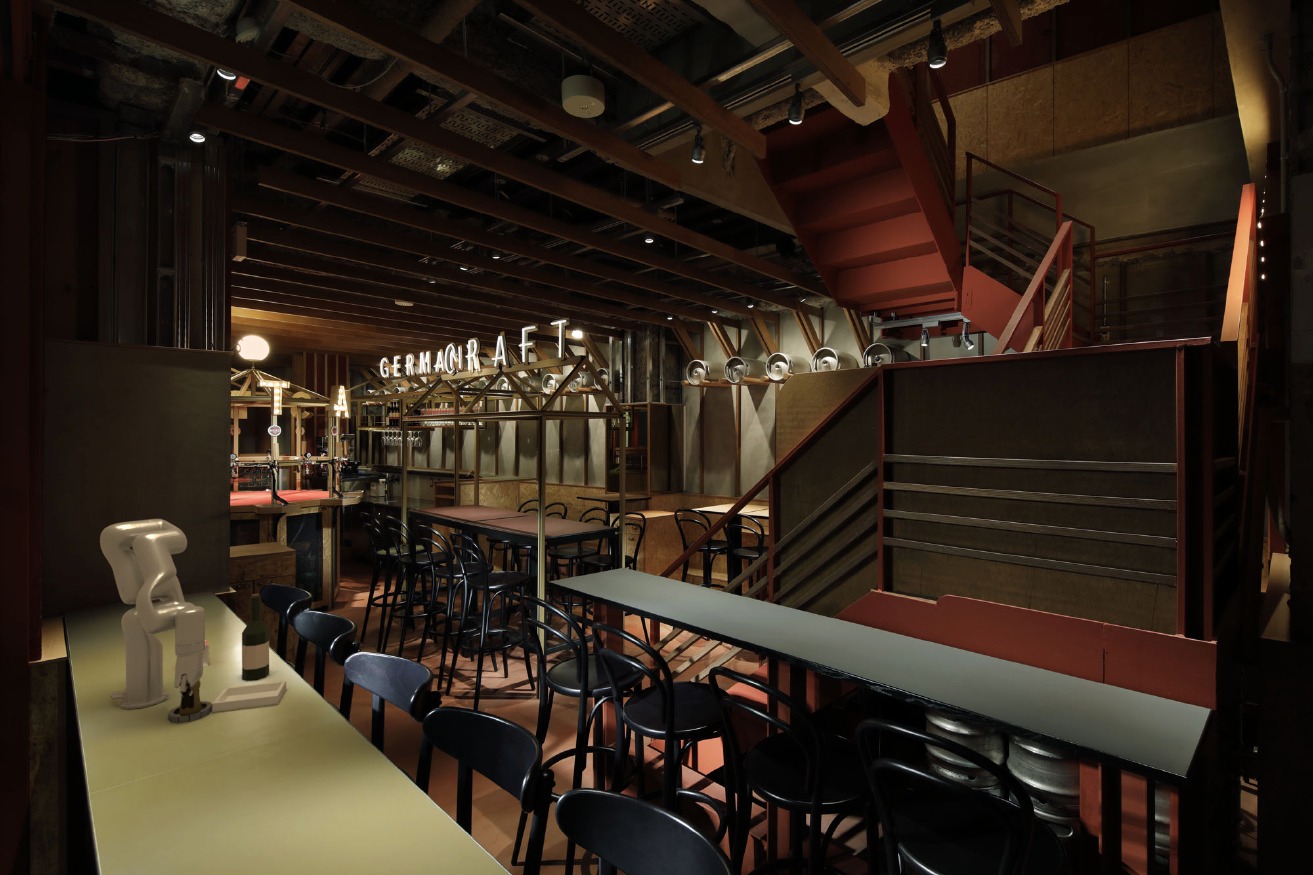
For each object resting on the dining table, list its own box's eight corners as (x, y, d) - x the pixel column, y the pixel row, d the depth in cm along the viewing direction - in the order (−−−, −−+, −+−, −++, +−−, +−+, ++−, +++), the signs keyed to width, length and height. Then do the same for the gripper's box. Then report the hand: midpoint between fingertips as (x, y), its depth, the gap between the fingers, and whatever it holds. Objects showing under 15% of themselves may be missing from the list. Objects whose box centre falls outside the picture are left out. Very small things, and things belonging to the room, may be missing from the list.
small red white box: (183, 670, 235) (182, 649, 235) (181, 664, 241) (181, 644, 241) (209, 665, 240) (209, 644, 240) (206, 659, 246) (206, 639, 246)
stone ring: (162, 725, 191) (162, 718, 191) (176, 710, 201) (176, 704, 201) (205, 719, 194) (205, 713, 194) (216, 705, 205) (216, 699, 205)
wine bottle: (256, 682, 224) (255, 598, 224) (236, 680, 226) (236, 596, 225) (274, 673, 232) (274, 592, 232) (255, 671, 234) (255, 591, 233)
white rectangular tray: (212, 712, 199) (212, 703, 199) (225, 696, 212) (225, 687, 212) (277, 704, 205) (277, 695, 205) (286, 689, 217) (286, 680, 217)
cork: (186, 711, 200) (186, 676, 200) (206, 710, 201) (206, 676, 201) (173, 719, 194) (173, 684, 194) (194, 719, 195) (194, 683, 195)
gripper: (185, 640, 204) (186, 696, 204) (165, 657, 188) (165, 718, 189) (213, 637, 207) (213, 693, 207) (194, 654, 191) (195, 714, 191)
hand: (190, 704), depth 198 cm, fingers closed on cork, 3 cm apart
